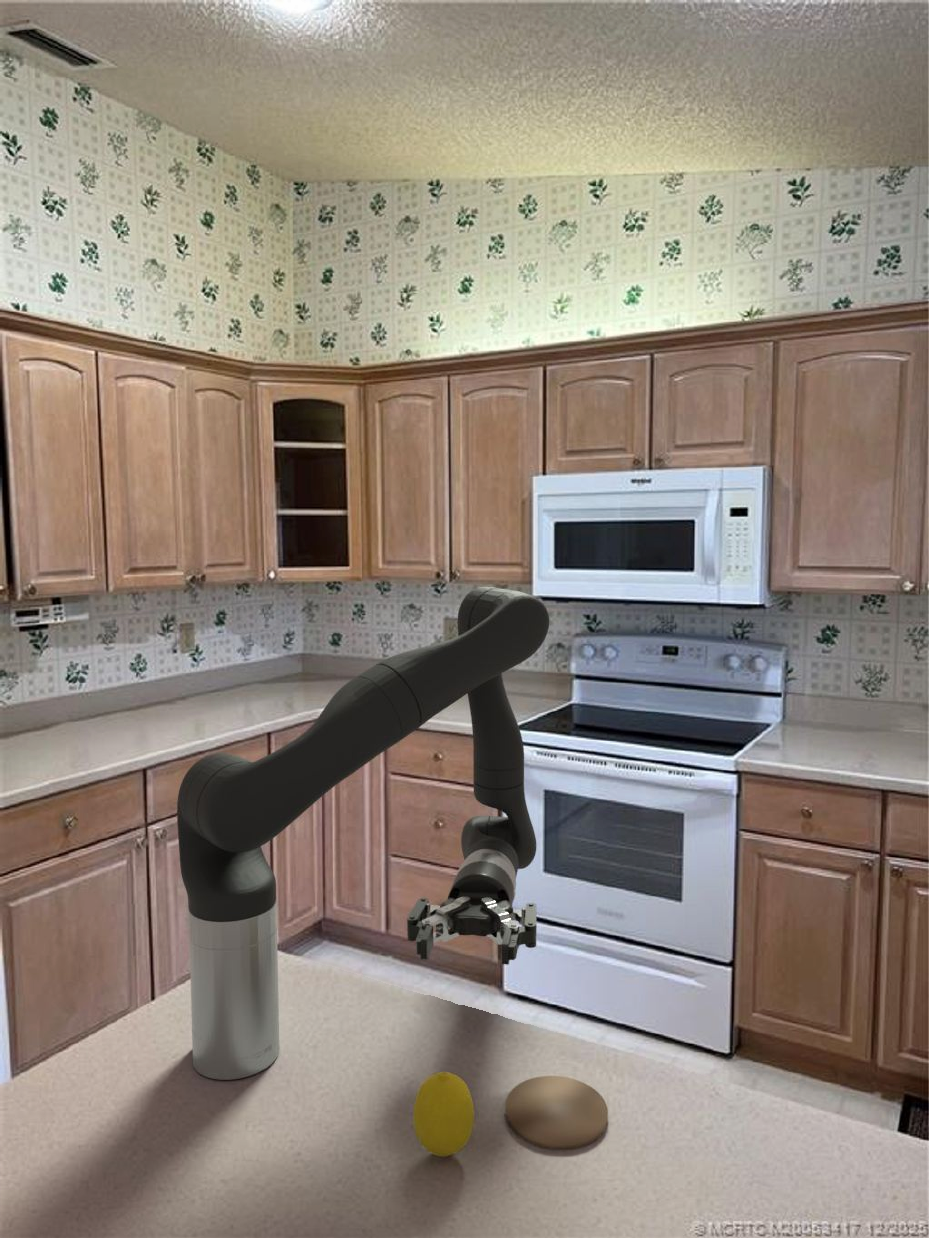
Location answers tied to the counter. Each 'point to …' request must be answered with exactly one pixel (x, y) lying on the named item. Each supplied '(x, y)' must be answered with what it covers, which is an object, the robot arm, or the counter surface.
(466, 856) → the robot arm
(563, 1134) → the walnut board
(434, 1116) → the lemon
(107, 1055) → the counter surface
